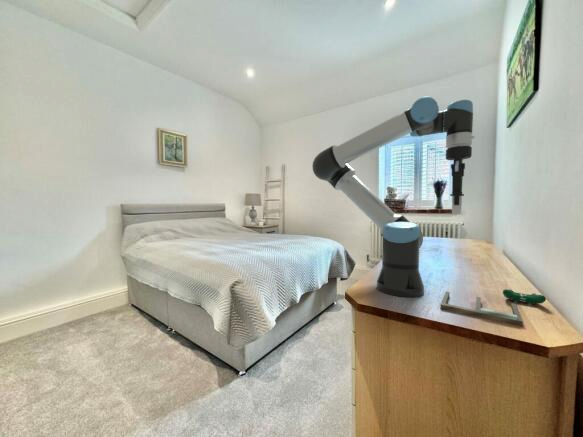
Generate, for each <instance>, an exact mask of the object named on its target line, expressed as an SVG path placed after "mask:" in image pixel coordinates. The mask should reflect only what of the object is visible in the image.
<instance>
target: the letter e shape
mask: <svg viewBox="0 0 583 437" xmlns="http://www.w3.org/2000/svg"><path fill="white" fill-rule="evenodd" d="M475 298H476V300H475V309H473V308H469V307H462V306H459V305H453V304H448V301H449V299H450V291H445V293H444V295H443V298H442V300H441V302H440V310H444V311H448V312H452V313H457V314H462V315H466V316H472V317H475V318H480V319H484V320H490V321H493V322H494V321H495V322H499V323H504V324H508V325H513V326H518V327H523V324H524V323H523V322H524V321H523V319H522V316H521V314H520V311H519V307H518V305H517V303H515V302H513V303H512V302H511V303H510V304H511V305H510V306H511V307H510V309H511V311H512V313H509V312H503V311H497V310H493V309H490V308H489V309H488V308H483V307H482V303H481V302H482V301H481V300H482V298H481V297H479V296H476V297H475Z"/></svg>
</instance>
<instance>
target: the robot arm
mask: <svg viewBox="0 0 583 437" xmlns="http://www.w3.org/2000/svg"><path fill="white" fill-rule="evenodd" d="M439 108H440V107H439V105H438V102H437V101H436V99H435V98H434V97H431V96H422V97H420V98H417V100H415V101H414V102H413V104H412V106H411V107H409V108H408V109H406V110H404V111H402V112H401V113H399V114H397V115H395V116H393V117H391V118H389V119H387V120H385V121H384V122H382V123H379V124H378V125H375V126H373V127H372V128H370V129H368V130H366V131H364V132H362V133H360V134H359V135H356V136H354V137H353V138H351V139H348V140H347V141H344V142H343V143H340V144H339V145H336V144H334V145H332V146H330V147H327V148H326V149H324V150H322V151H321V152H319V153H318V154H317V155H316V156H315V157H314V160H313V161H312V166H311V167H312V171H313V174H314V175H315V177H316V178H318V179H320V180H322V181H325V182H328V183H329V185H331V187H333V189H334V190H336V191H341V192H342V193H343V194H345V196H346V197H347V198H348V199H349V200H351V201H352V203H353V204H354V205H355V206H357V207H358V209H359V210H361V211H362V212H363V213H364V214H365V216H367V218H369V220H371V222H372V223H373V224H375V226H377V228H378V229H379V230H380V231H379V234H380V236H381V237H382V265H381V269H380V271H379V274H378V277H377V280H376V289H378V291H380V292H382V293H385V294H387V295H390V296H395V297H400V298H401V297H402V298H416V297H422V296H423V295H424V294H425V285H424V281H423V279H422V276H421V273H420V270H419V269H420V268H419V265H420V264H419V263H420V248H421V246H422V245H423V241H424V236H423V233H422V230H421V229H420V226H419V225H418V224H417V223H415V222H414V223H413V222H411V221H410V220H408V219H407V218H406V216H404V215H403V214H396V212H395V211H393V210H392V209H391V208H390V207H389V206H388V205H387V204H386V203H385V202H383V200H382V199H381V198H380V197H378V196H377V195H376V194H375V193H374V192H373V191H372V190H371V189H370V188H369V187H368V186H367V185H365V184H364V182H362V180H360V179H359V178H358V177H357V176H356V170H355V169H354V168H353V167H352V166H350V163H351V162H353V161H355V160H357V159H359V158H361V157H363V156H365V155H367V154H370V153H372V152H374V151H376V150H378V149H380V148H382V147H385V146H386V145H388V144H391V143H393V142H395V141H397V140H399V139H401V138H403V137H406V136H408V135H410V136H411V137H412V138H413V137H422V136H429V135H438V134H444V133H446V136H445V147H446V150H445V160H447V161H453V163H451V164H450V169H451V177H452V183H451V184H452V185H451V186H452V190H451V193H450V194H449V196H451V215H462V202H463V197H464V196H465V194H464V193H463V180H464V179H463V177H464V176H465V169H466V163H465V162H463V160H467V159H470V158H471V157H472V150H473V149H472V145H473V144H472V143H473V141H472V140H473V139H475V135H473V122H474V109H473V108H474V105H473V101H472V100H470V99H459V100H456V101H453V102H451V103H449V104H448V105H447V107H446V110H441V111H440V110H439Z"/></svg>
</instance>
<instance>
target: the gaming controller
mask: <svg viewBox="0 0 583 437" xmlns="http://www.w3.org/2000/svg"><path fill="white" fill-rule="evenodd" d="M502 294H503V296H504V297H505V298H506V299H508V300H512V301H513V303H519V302H520V301H521V302H525V303H526V304H527V305H529V306H532V305H533V304H536V305H537V304H538V305H539V304H543V303H544V302H546V300H547V298H546V296H545V295H542V294H537V293H536V292H533V293H531V294H528V293H527V294H526V293H522V292H515V291H513V290H512V288H509V289H503V291H502Z"/></svg>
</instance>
